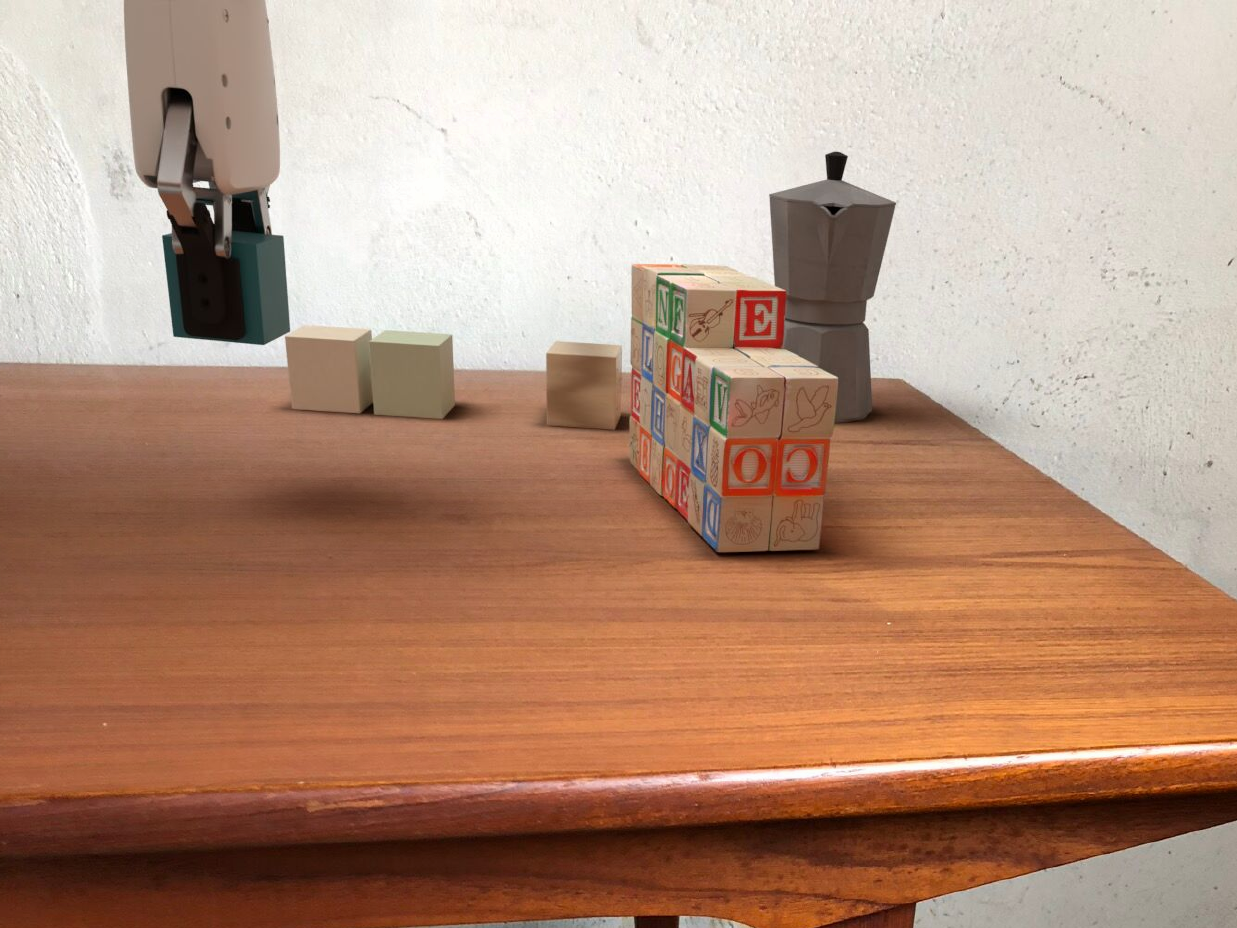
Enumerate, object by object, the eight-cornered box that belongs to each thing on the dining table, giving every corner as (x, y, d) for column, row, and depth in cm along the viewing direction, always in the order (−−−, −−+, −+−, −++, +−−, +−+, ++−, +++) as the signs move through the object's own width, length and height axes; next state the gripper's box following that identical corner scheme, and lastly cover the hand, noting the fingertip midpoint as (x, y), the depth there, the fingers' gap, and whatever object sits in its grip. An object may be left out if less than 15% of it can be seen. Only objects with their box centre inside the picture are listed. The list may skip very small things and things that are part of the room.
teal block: (172, 336, 76) (161, 235, 74) (204, 323, 80) (194, 227, 78) (264, 345, 76) (256, 244, 74) (290, 332, 80) (283, 235, 78)
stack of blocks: (823, 553, 78) (846, 314, 71) (716, 557, 76) (729, 312, 70) (715, 460, 95) (726, 261, 88) (626, 461, 93) (630, 258, 87)
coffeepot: (876, 432, 105) (906, 160, 96) (752, 424, 105) (770, 151, 96) (868, 393, 118) (894, 150, 109) (758, 386, 118) (774, 142, 109)
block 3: (546, 425, 101) (546, 352, 99) (555, 411, 105) (554, 340, 103) (615, 430, 101) (616, 356, 99) (621, 416, 105) (622, 345, 103)
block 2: (374, 415, 101) (368, 341, 99) (389, 401, 105) (384, 330, 103) (442, 419, 101) (439, 345, 99) (455, 405, 105) (452, 334, 103)
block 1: (291, 409, 101) (284, 335, 99) (310, 396, 105) (303, 324, 103) (360, 414, 101) (354, 340, 99) (376, 400, 105) (371, 329, 103)
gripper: (181, -60, 76) (216, 303, 85) (44, -95, 61) (105, 347, 71) (319, -47, 76) (338, 314, 85) (214, -79, 61) (252, 361, 71)
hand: (232, 325), depth 78 cm, fingers closed on teal block, 5 cm apart
